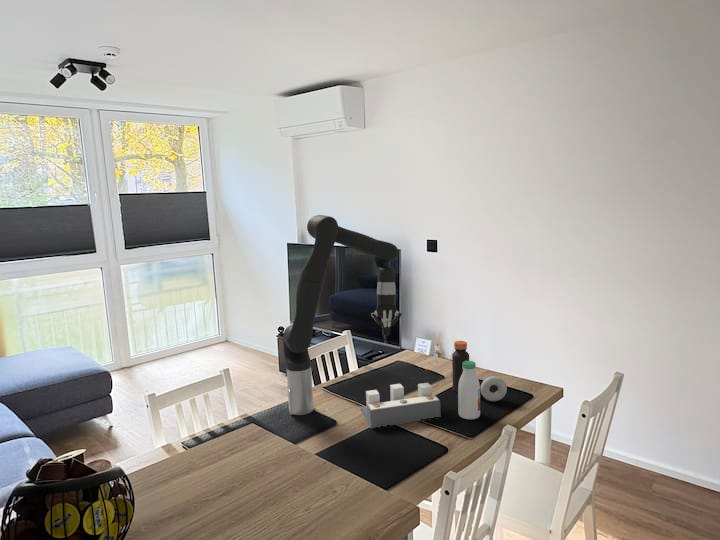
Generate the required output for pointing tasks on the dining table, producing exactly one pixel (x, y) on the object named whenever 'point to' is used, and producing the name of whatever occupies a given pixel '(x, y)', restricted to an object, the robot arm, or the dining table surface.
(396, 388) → the key middle
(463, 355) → the vinegar
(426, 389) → the key right
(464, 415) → the milk bottle
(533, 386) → the dining table surface
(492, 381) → the donut
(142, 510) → the dining table surface
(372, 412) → the block
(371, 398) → the key left
